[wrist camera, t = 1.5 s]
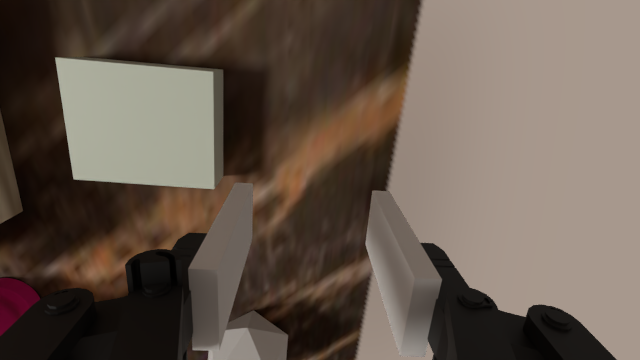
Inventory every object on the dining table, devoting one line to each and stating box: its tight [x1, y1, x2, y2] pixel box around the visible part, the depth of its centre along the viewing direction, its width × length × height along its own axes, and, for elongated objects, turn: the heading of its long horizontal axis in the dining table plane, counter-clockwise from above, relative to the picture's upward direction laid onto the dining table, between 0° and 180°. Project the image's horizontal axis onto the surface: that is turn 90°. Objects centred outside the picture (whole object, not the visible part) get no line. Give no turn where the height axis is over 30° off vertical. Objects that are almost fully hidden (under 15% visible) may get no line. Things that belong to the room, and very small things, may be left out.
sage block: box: [55, 57, 223, 189], centre depth 31 cm, size 12×10×4 cm
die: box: [208, 310, 288, 360], centre depth 38 cm, size 8×9×10 cm
